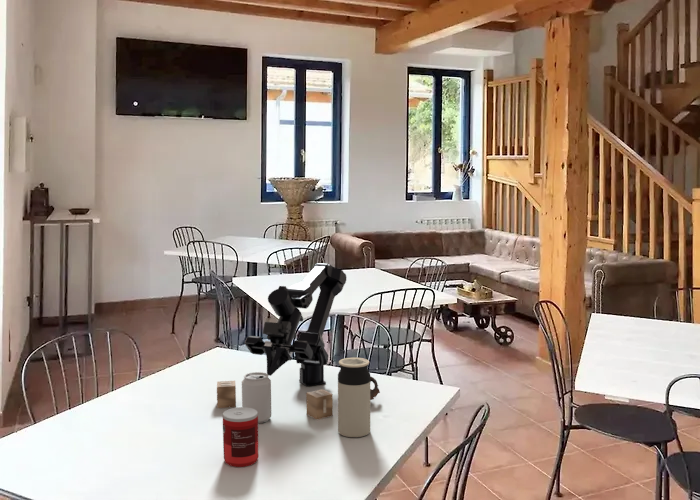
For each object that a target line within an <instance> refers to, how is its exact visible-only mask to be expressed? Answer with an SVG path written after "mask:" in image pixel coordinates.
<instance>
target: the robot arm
mask: <svg viewBox="0 0 700 500" xmlns="http://www.w3.org/2000/svg"><path fill="white" fill-rule="evenodd" d="M346 283H347V274H346V273H345V272H344V270H343V269H340V268H337V267H334V266H332V265H331V264H329V263H322V262H321V263H319V262H318V263H315V264H314V265H313V268H312V269H311V270H310V271H309V273H308V274H307V275H306V276H304V278H303V279H302V280H301V281H300V282H297V283H295V284H291V285H290V286H289V287H287V286H285V285H279V286H278V288H276V289H274V290H273V291H271V292H270V293H269V294H268V296H267V301H268V303H269V305H270V306H271V308H272V311H274V313H275V314H276V316H278V320H277V322H270V321H265V322H264V323H263V329H262V334H263V335H267V336H266V339H267V340H263V338H262V337H261V336H257V335H256V336H255V335H249V336H247V337H246V339H245V341H244V345H245V346H246V348H247V349H248V351H249V352H250V353H251V354H253V355H259V356H262V355H264V354H265V355H266V374H268V377H269V376H270V377H271V376H273V374H275V372H276V371H278V370H279V369H280V368H281V367H282V366H283V365H285V364H286V363H287V362H289V361H292V359H293V358H292V355H293V354H294V357H295V360H296V361H295V362H296V364H300V367H299V380H298V381H299V382H300V383H301V384H302V385H304V386H305V387H312V386H317V385H319V386H320V385H326V383H327V382H326V381H325V377H324V376H325V375H324V372H325V371H324V369H325V368H324V366H327V365H328V361H329V354H328V352H327V350H326V349H325V340H324V339H323V335H324V332H325V328H326V325H327V324H328V323H327V322H328V319H329V316H330V312H331V309H332V306H333V303H334V300H335V297H337V296H338V295H339V294H340V293H341V292H342V291H343V289H344V286H345V284H346ZM318 288H319V293H318V294H319V295H318V297H317V300H316V303H315V306H314V309H313V312H312V315H311V318H310V322H309V325H308V327H307V329H306V331H301V332H299V334H298V338H297V334H296V332H297V328H298V326H299V324H300V322H303V321H304V317H303V315H302V314H303V313H302V311H301V310H300V309H304V310H305V309H308V308H309V307H310V305H311V304H312V302H313V301H314V300H313V294H314V292H316V291H317V289H318ZM294 339H296V340H294Z"/></svg>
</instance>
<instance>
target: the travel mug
mask: <svg viewBox="0 0 700 500" xmlns="http://www.w3.org/2000/svg"><path fill="white" fill-rule="evenodd" d="M338 364H339V367H340V369H339V372H338V374H337V430H338V431H337V432H338V434H340V435H342V436H343V437H346V438H362V437H366V436H367V435H369V434H370V433H371V400H370V389H371V382H370V376H371V373H370V371H369V364H370V361H369V360H368V359H366V358H363V357H345V358H342V359H340V360H339V361H338Z"/></svg>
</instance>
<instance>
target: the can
mask: <svg viewBox="0 0 700 500" xmlns="http://www.w3.org/2000/svg"><path fill="white" fill-rule="evenodd" d="M241 405H242V406H241V407H247V408H252V409H255V410H256V411H257V413H258V424H264V423H266V422H268V421H269V419H271V418H272V380H271V378H270V377H269V375H268V374H267V372H261V371H258V372H257V371H255V372H249V373H246V374H245V375H243V380H242V381H241Z"/></svg>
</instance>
